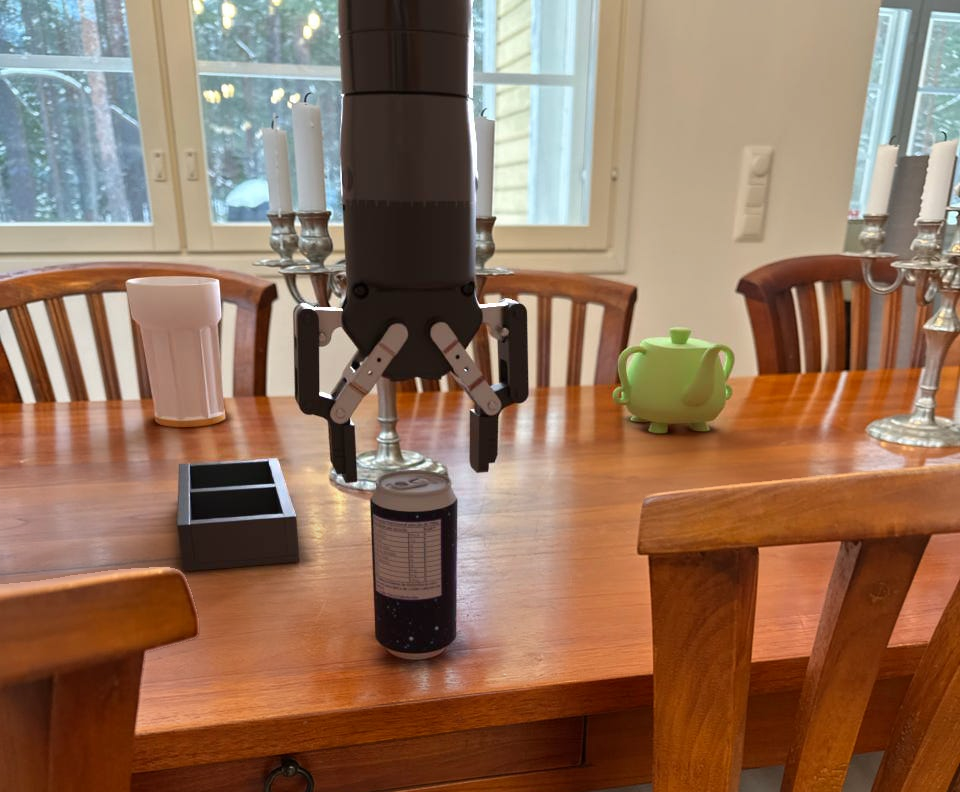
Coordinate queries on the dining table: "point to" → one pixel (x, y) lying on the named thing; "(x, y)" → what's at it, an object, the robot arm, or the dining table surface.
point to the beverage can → (414, 562)
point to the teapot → (674, 381)
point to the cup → (180, 346)
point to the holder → (235, 515)
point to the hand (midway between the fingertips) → (415, 474)
